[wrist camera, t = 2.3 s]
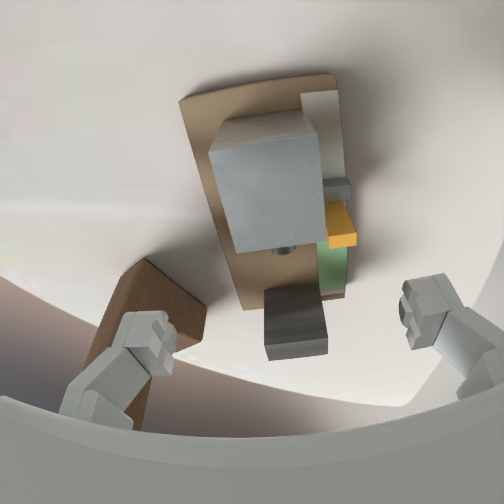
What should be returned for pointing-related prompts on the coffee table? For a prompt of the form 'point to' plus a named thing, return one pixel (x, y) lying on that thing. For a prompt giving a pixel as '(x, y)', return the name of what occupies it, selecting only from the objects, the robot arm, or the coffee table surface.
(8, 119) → the coffee table surface
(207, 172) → the bench
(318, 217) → the block
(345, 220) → the amber brick
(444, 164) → the coffee table surface
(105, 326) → the wooden block
